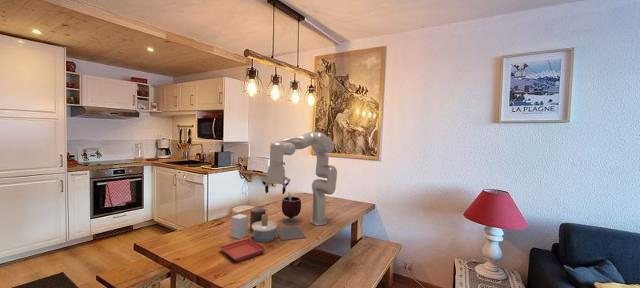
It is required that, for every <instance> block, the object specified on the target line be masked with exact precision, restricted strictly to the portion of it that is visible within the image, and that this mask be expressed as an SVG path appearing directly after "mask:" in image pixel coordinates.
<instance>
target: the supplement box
mask: <svg viewBox="0 0 640 288" xmlns="http://www.w3.org/2000/svg"><path fill="white" fill-rule="evenodd" d="M230 219H231V220H230V221H231V222H230V237H231V238H234V239H237V240H240V239H243V238H245V237H247V236H248V235H249V233H248V232H249V215H247V214H242V213H238V214H236V215H232V216H231V217H230Z"/></svg>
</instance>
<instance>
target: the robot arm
mask: <svg viewBox="0 0 640 288" xmlns="http://www.w3.org/2000/svg"><path fill="white" fill-rule="evenodd" d="M269 146H270V148H269V166H268V167H267V172H266V175H265V176H263V177H261V178H260V180H261V183H262V184H263V185H264V191H265V194H269V184H272V185H273V184H275V185H282V189H281V190H282V193H281V195H284V194H285V193H286V191H287V190H286V188H287V187H288V185H289V184H290V182H291V179H290V178H288V177H286V171H285V169H286V168H285V166H286V162H284V156H292V155H294V154H295V152H296V151H297V150H304V149H306V148H308V147H311V149H312V151H313V152H314V153H315V155H316V165H315V175H316V176H317V177H318V179H317V178H316V179H314V180H313V181H312V183H311V189H312V190H311V191H312V208H311V210H312V211H311V212H312V215H311V219H310V220H309V223H310V224H311V225H314V226H324V225H327V224H328V221H330V220H332V216H328V215H327V216H326V212H327V211H326V210H327V209H326V208H327V207H326V206H327V205H326V203H327V198H326V195H329V196H330V195H333V194H335V191H336V187H337V178H338V169H337V168H336V167H335V166H334V165H330V164H329V155H328V154H331V153H332V152H334V149H335V144H334V142H333V141H332V140H331V138H329V136H327V135H326V134H325V133H324V132H319V131H318V132H317V131H314V132H313V131H310V132H308V133H305V134H301V135H299V136H298V135H297V136H294V137H290V138H285V139H281V140H278V141H276V142H271V143H270V145H269ZM284 165H285V166H284ZM322 178H323V179H322ZM265 179H266V181H265Z"/></svg>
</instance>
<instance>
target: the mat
mask: <svg viewBox="0 0 640 288" xmlns="http://www.w3.org/2000/svg"><path fill="white" fill-rule="evenodd" d="M276 235H277V236H278V239H280V242H283V241H284V242H285V241H286V242H287V241H293V240H301V239H308V237H307V236H306V234H305V233H304V232H303V230H302V229H301V228H300V227H299V226H298V225H291V226H284V227H282V226H281V227H277V228H276Z"/></svg>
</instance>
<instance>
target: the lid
mask: <svg viewBox="0 0 640 288" xmlns="http://www.w3.org/2000/svg"><path fill="white" fill-rule="evenodd" d="M268 217H269V215H268V214H266V213H265V214H263V215H262V221H258V222H255V223H253V224H252V229H253V230H255V231H262V232H264V231H271V230H274V229H276V228H278V223H276V221H271V220H268Z"/></svg>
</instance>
